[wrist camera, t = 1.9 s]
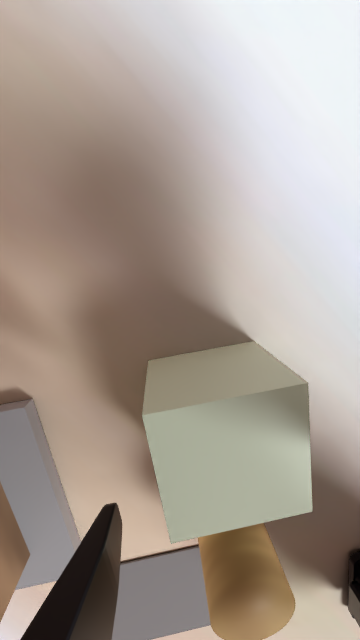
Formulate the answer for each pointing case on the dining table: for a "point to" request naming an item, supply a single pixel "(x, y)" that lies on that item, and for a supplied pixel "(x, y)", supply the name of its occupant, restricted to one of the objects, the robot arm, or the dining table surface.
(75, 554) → the robot arm
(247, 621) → the ochre peg
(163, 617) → the charcoal pad
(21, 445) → the plate
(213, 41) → the dining table surface
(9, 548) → the walnut block
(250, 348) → the sage block
